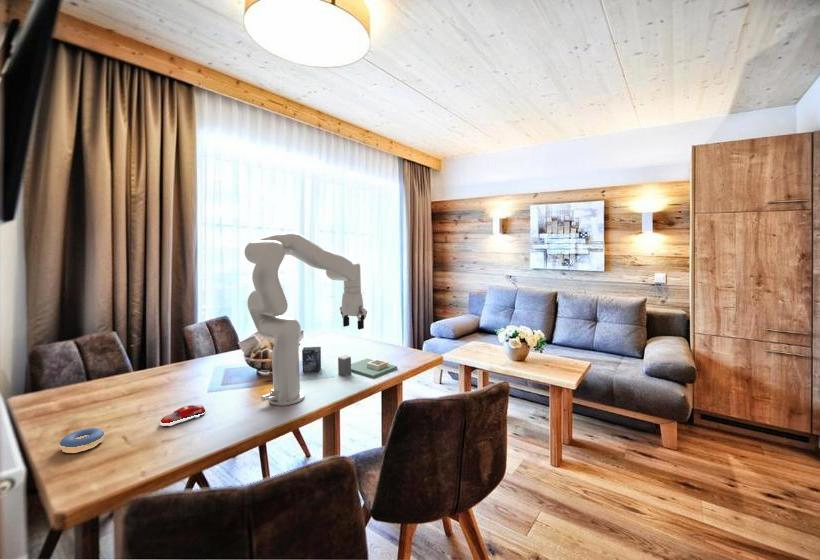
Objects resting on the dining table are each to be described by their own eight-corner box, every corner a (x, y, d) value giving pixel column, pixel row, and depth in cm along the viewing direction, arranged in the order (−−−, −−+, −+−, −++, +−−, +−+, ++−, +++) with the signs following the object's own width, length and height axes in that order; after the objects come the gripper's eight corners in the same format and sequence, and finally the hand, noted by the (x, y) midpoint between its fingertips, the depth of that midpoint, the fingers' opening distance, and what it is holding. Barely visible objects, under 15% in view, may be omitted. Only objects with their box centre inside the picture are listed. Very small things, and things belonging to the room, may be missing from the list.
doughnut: (48, 455, 102) (49, 439, 102) (78, 439, 112) (79, 424, 112) (85, 458, 103) (87, 442, 103) (112, 441, 113) (113, 426, 113)
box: (302, 372, 169) (301, 350, 168) (304, 368, 175) (303, 347, 174) (320, 372, 170) (319, 349, 169) (321, 368, 176) (320, 346, 175)
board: (373, 378, 162) (373, 371, 161) (342, 369, 174) (342, 362, 174) (397, 368, 174) (397, 362, 174) (367, 360, 186) (367, 354, 186)
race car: (163, 430, 117) (162, 418, 117) (157, 425, 121) (156, 413, 120) (207, 415, 127) (206, 404, 127) (201, 411, 131) (200, 400, 130)
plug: (344, 376, 164) (344, 358, 164) (338, 374, 167) (338, 357, 166) (351, 373, 168) (350, 356, 167) (345, 372, 170) (344, 355, 169)
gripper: (333, 289, 169) (334, 326, 171) (359, 292, 158) (360, 331, 160) (346, 288, 175) (347, 323, 177) (372, 290, 164) (372, 328, 166)
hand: (353, 327), depth 168 cm, fingers open, 9 cm apart
